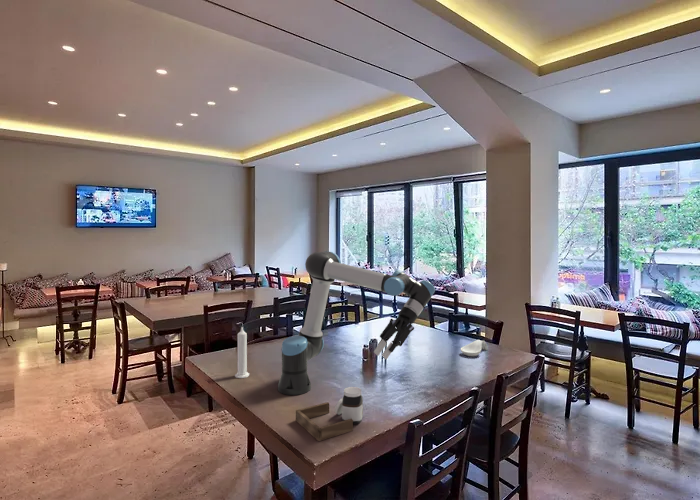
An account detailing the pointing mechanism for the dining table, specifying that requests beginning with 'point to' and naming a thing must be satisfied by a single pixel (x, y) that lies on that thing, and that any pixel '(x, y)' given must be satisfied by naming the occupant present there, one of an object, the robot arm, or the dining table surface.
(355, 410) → the spread jar
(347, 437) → the dining table surface
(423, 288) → the robot arm
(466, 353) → the spoon rest
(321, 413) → the walnut bay
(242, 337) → the candle
